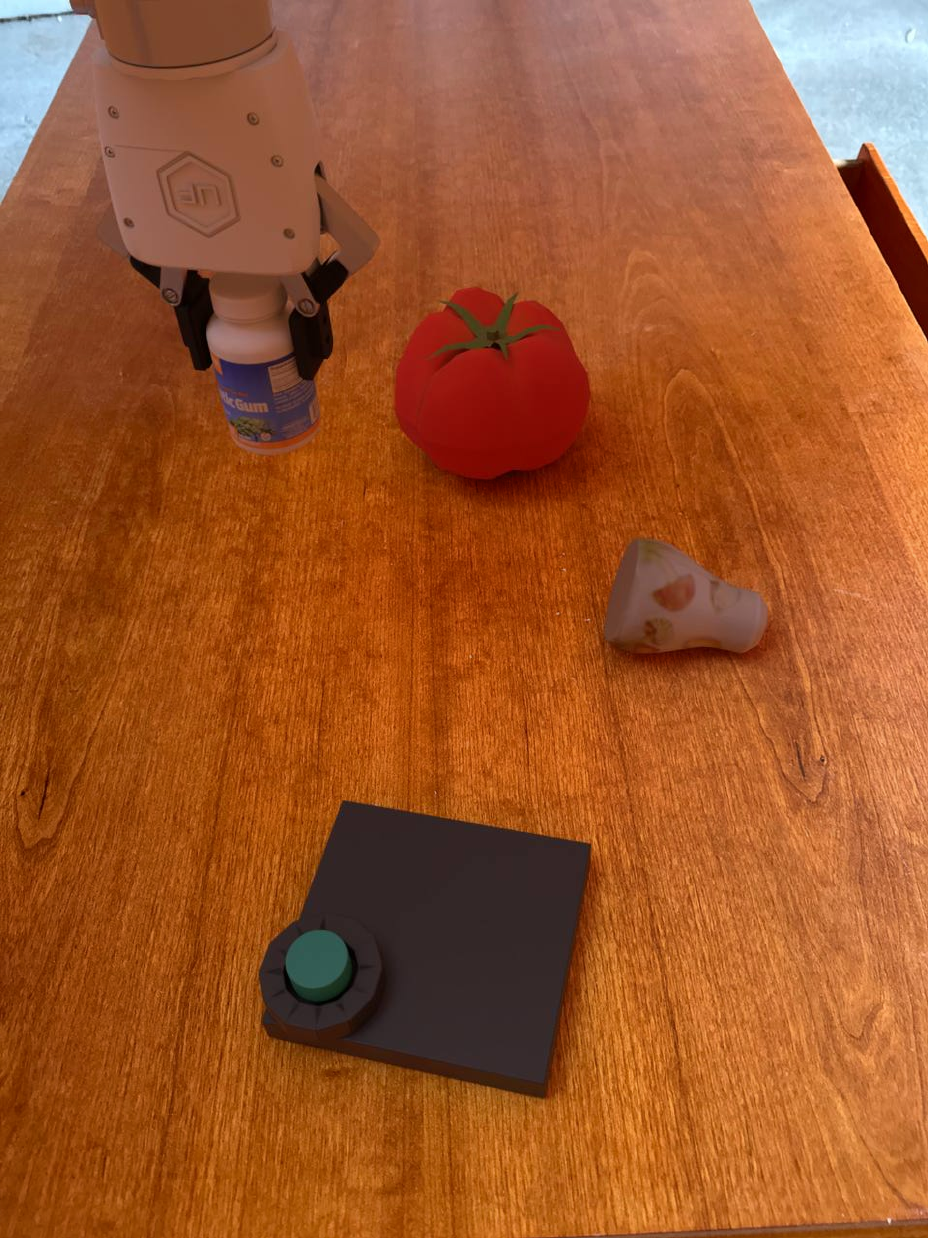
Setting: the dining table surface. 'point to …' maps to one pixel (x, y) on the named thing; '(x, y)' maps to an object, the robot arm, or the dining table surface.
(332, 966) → the button
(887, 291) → the dining table surface
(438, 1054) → the scale
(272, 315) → the pill bottle
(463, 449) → the tomato
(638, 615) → the white floral vase
